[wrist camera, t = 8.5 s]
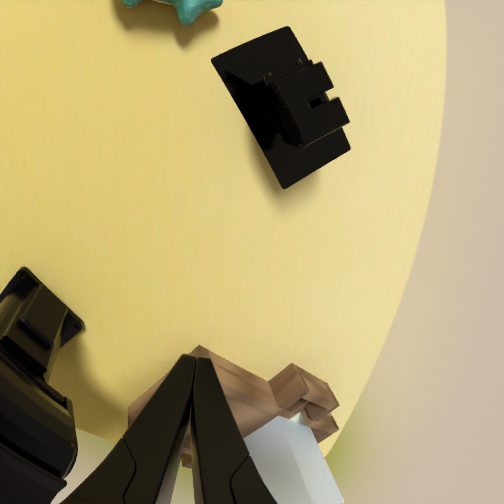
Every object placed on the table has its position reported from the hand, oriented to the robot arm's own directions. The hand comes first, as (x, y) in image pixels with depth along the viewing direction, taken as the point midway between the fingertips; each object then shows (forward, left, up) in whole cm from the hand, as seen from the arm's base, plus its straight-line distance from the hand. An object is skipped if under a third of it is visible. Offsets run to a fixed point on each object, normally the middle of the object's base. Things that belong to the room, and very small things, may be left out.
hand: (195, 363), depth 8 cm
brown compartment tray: (-9, -19, -12) cm, 24 cm away
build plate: (+10, +2, -13) cm, 16 cm away
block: (-8, -25, -11) cm, 28 cm away
